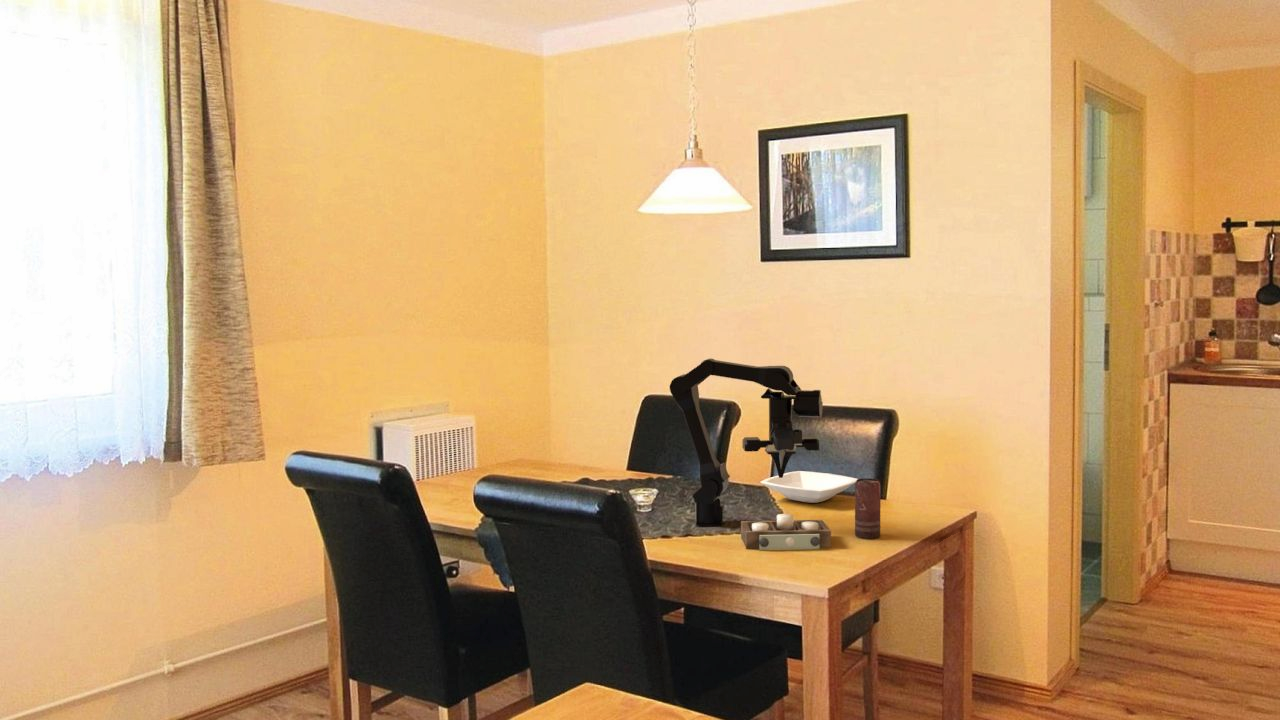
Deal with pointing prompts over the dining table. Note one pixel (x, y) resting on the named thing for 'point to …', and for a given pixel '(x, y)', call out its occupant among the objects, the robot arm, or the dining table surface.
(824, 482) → the bowl
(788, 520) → the button mid
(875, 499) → the can
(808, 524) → the button right
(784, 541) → the card
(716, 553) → the dining table surface
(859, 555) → the dining table surface
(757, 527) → the button left
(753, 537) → the brown compartment tray
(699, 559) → the dining table surface
